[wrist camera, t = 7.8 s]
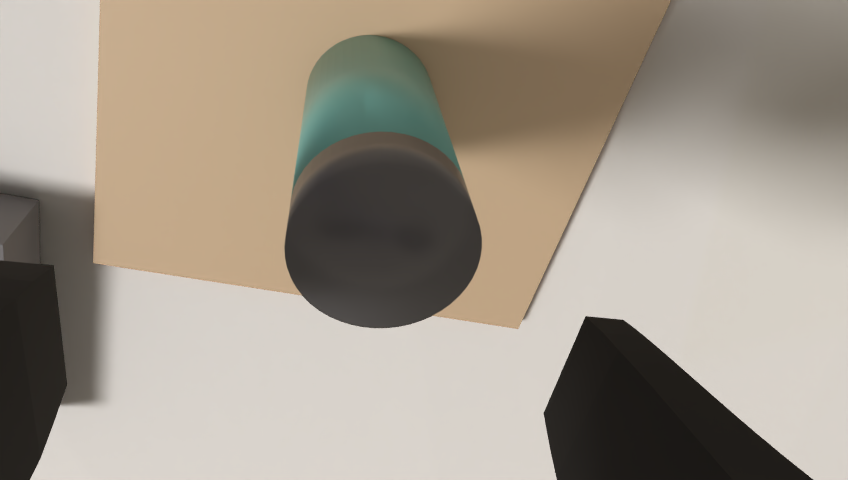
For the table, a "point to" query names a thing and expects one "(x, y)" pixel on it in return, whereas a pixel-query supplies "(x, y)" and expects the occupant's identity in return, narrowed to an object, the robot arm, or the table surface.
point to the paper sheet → (283, 111)
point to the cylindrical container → (378, 192)
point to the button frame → (19, 229)
